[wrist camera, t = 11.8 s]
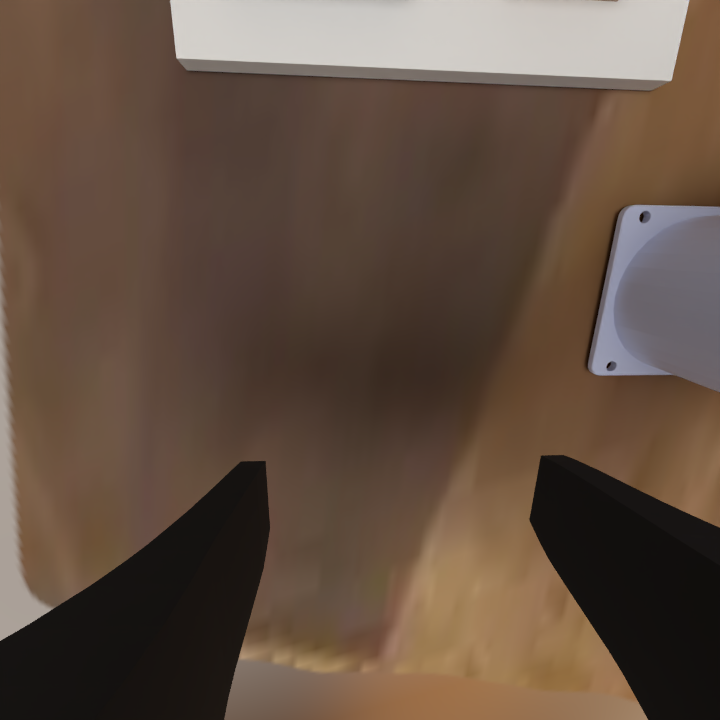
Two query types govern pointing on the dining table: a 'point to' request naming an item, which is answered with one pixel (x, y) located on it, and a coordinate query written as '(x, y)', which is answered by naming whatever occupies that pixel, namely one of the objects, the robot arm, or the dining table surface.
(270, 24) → the socket board
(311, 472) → the dining table surface
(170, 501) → the dining table surface
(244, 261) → the dining table surface
